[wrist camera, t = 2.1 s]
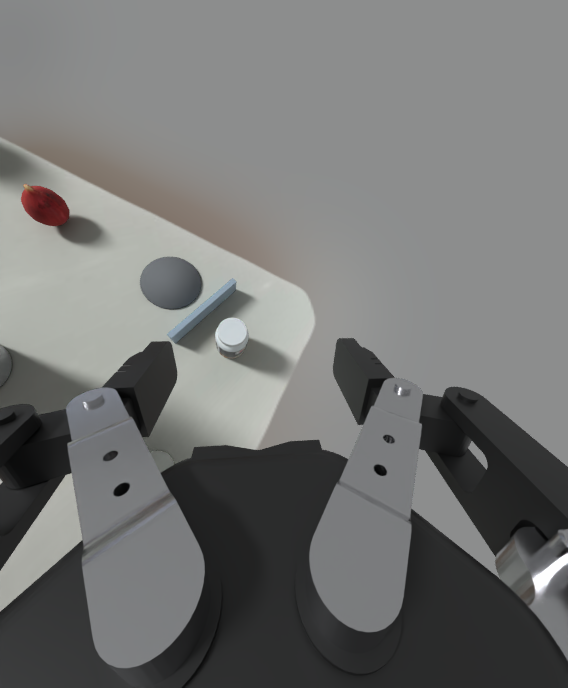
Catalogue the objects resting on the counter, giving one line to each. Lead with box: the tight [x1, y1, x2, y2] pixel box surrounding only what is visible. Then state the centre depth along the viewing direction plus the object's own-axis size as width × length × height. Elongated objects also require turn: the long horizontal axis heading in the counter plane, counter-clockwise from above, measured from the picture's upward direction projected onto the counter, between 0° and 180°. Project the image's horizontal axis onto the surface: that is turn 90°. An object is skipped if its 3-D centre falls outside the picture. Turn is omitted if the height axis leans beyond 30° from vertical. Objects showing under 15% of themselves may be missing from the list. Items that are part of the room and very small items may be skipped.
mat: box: [140, 257, 201, 309], centre depth 48 cm, size 11×11×1 cm
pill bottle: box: [215, 318, 249, 359], centre depth 43 cm, size 6×6×10 cm
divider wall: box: [167, 278, 236, 343], centre depth 46 cm, size 16×1×4 cm, turn 139°
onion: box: [21, 184, 69, 226], centre depth 42 cm, size 6×6×8 cm
